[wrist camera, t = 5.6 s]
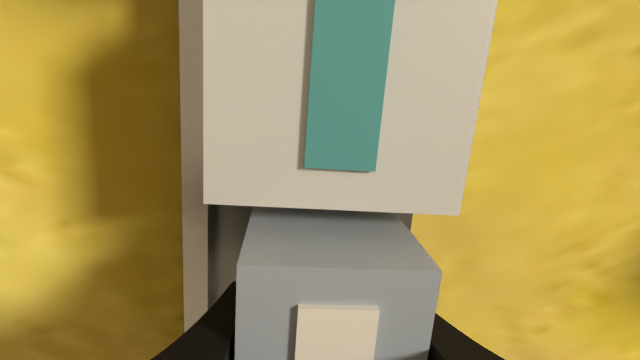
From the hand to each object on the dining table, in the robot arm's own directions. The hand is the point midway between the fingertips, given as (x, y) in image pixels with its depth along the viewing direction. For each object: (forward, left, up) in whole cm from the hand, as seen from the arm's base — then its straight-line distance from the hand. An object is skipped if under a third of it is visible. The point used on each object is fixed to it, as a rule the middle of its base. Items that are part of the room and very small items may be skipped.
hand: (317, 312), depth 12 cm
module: (+7, 0, -3) cm, 7 cm away
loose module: (0, 0, -2) cm, 2 cm away
